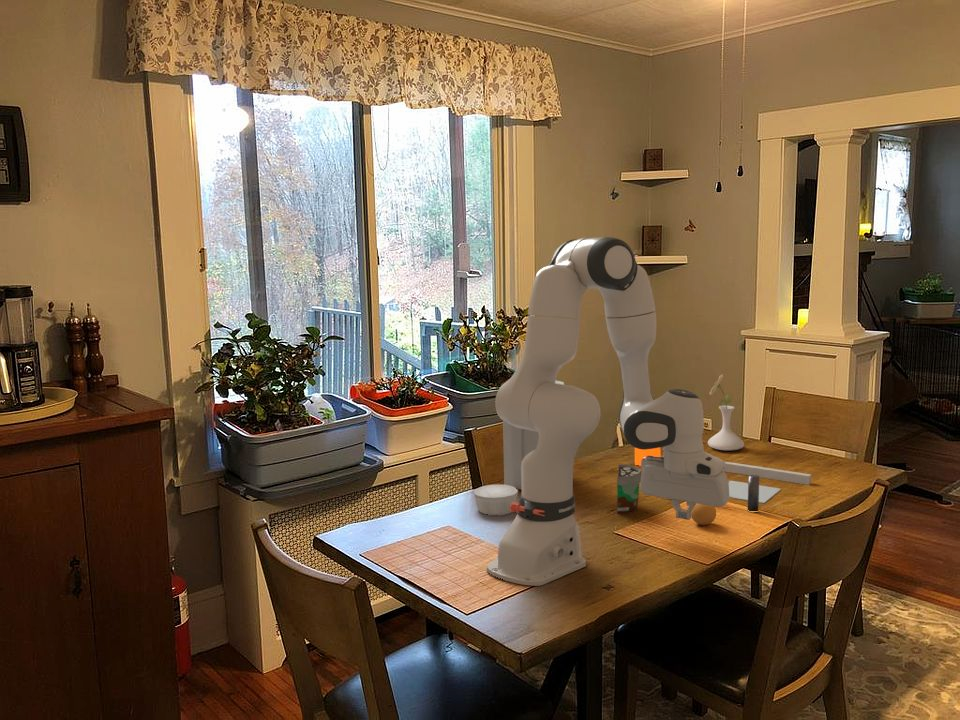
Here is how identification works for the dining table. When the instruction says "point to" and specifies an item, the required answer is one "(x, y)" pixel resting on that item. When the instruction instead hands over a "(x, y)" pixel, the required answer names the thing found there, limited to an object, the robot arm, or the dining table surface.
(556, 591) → the dining table surface
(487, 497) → the ramekin
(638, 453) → the orange juice
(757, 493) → the right post
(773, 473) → the wall
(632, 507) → the food container
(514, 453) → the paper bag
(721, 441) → the flower in vase
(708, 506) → the ball
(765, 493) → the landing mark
